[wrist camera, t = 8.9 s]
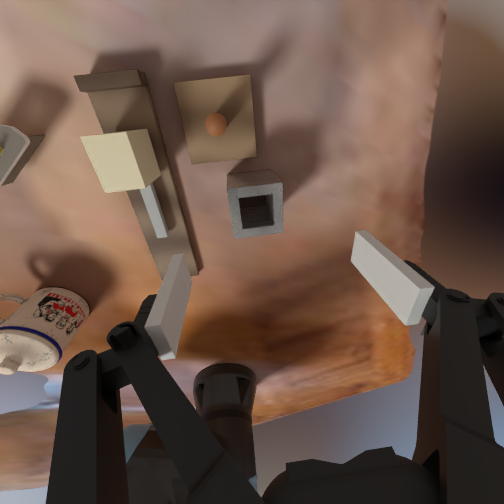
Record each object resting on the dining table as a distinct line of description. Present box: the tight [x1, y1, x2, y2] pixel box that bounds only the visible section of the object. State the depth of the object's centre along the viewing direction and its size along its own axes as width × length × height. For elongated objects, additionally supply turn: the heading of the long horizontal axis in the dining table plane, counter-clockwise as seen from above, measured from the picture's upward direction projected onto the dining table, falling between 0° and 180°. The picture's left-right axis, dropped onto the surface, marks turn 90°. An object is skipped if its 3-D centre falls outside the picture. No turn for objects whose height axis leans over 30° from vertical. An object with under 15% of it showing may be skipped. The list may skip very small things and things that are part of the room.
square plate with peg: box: [174, 75, 257, 164], centre depth 23 cm, size 8×8×8 cm
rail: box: [74, 69, 199, 280], centre depth 29 cm, size 26×6×2 cm, turn 5°
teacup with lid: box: [0, 287, 89, 375], centre depth 33 cm, size 12×9×12 cm
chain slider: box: [80, 129, 169, 238], centre depth 25 cm, size 13×4×6 cm, turn 5°
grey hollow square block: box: [227, 169, 284, 239], centre depth 28 cm, size 6×6×7 cm
